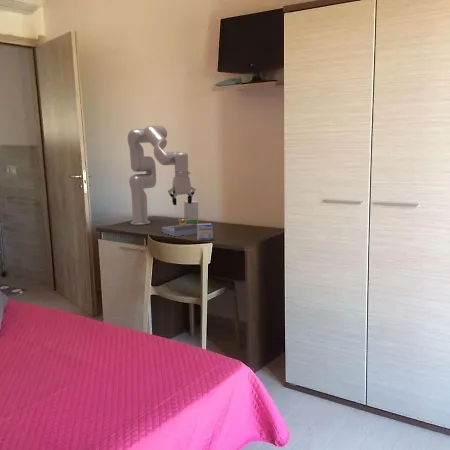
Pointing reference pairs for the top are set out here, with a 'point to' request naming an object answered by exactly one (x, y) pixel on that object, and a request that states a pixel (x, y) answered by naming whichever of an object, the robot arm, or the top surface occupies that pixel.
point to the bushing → (182, 221)
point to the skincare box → (191, 212)
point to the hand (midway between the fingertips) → (182, 204)
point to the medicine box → (204, 231)
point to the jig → (180, 230)
